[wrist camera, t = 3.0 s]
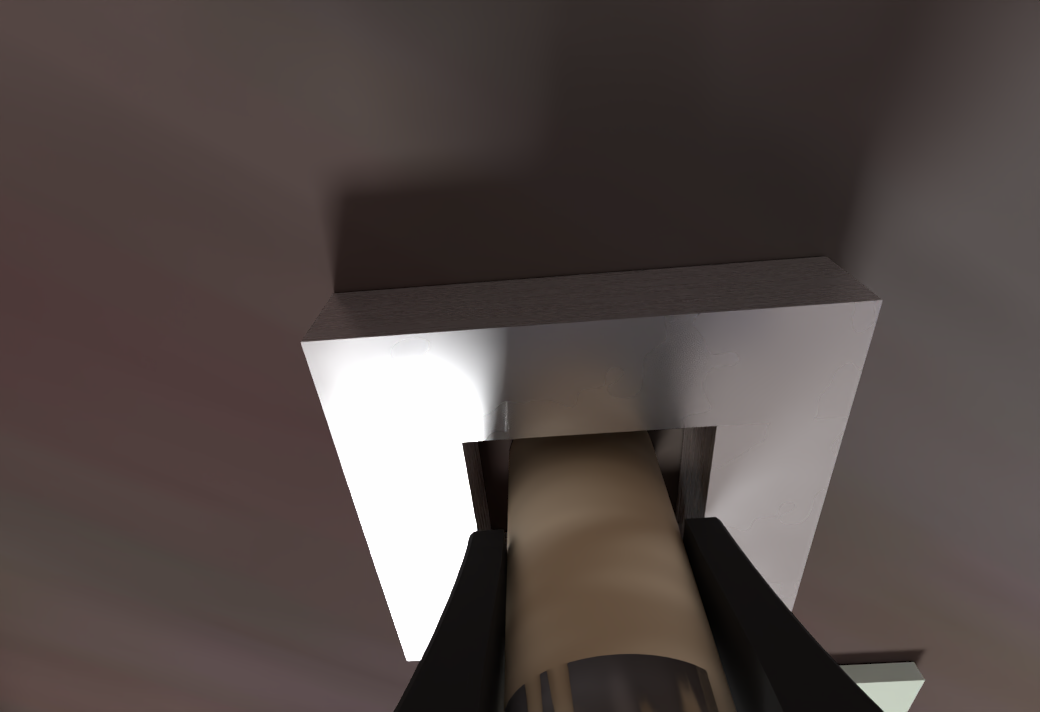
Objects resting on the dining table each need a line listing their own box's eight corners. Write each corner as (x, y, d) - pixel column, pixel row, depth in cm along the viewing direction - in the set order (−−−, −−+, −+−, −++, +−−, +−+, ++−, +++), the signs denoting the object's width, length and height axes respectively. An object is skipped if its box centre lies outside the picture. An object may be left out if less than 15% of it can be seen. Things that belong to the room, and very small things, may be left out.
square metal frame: (826, 256, 11) (882, 300, 9) (754, 576, 16) (782, 642, 15) (333, 293, 11) (300, 342, 10) (418, 594, 17) (407, 660, 15)
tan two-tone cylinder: (656, 396, 13) (777, 726, 7) (649, 506, 15) (739, 839, 9) (502, 406, 13) (488, 738, 7) (515, 513, 15) (513, 847, 9)
